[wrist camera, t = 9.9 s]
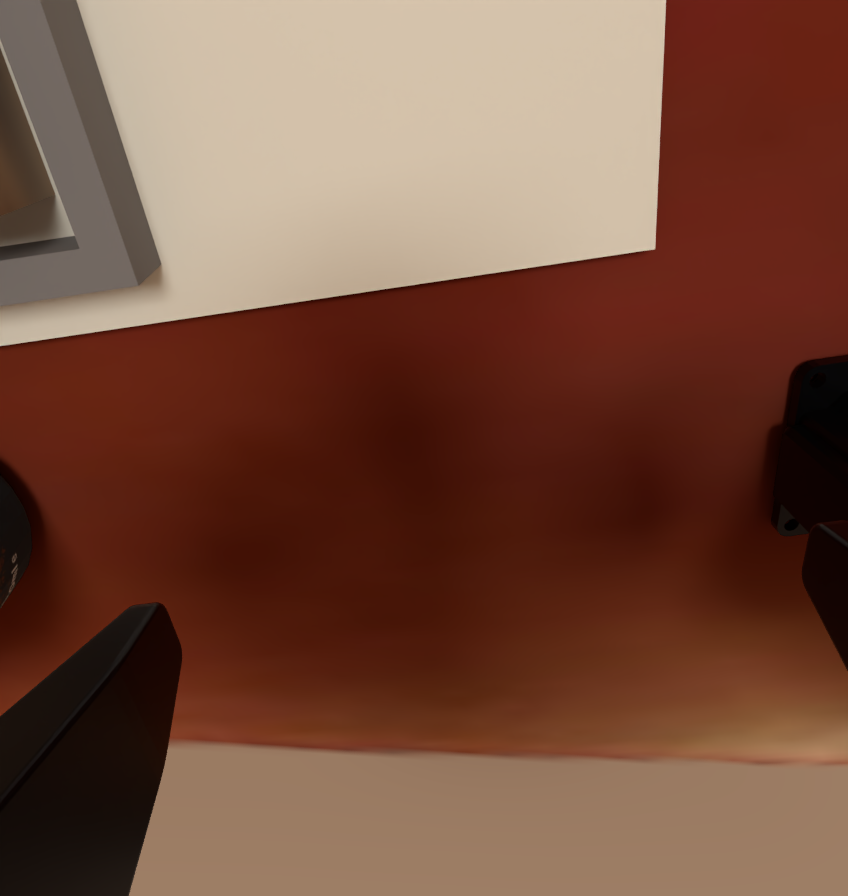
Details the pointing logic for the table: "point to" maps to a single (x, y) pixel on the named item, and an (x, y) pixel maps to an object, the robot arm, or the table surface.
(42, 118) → the mat
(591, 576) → the table surface
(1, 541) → the beverage can
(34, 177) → the card box
